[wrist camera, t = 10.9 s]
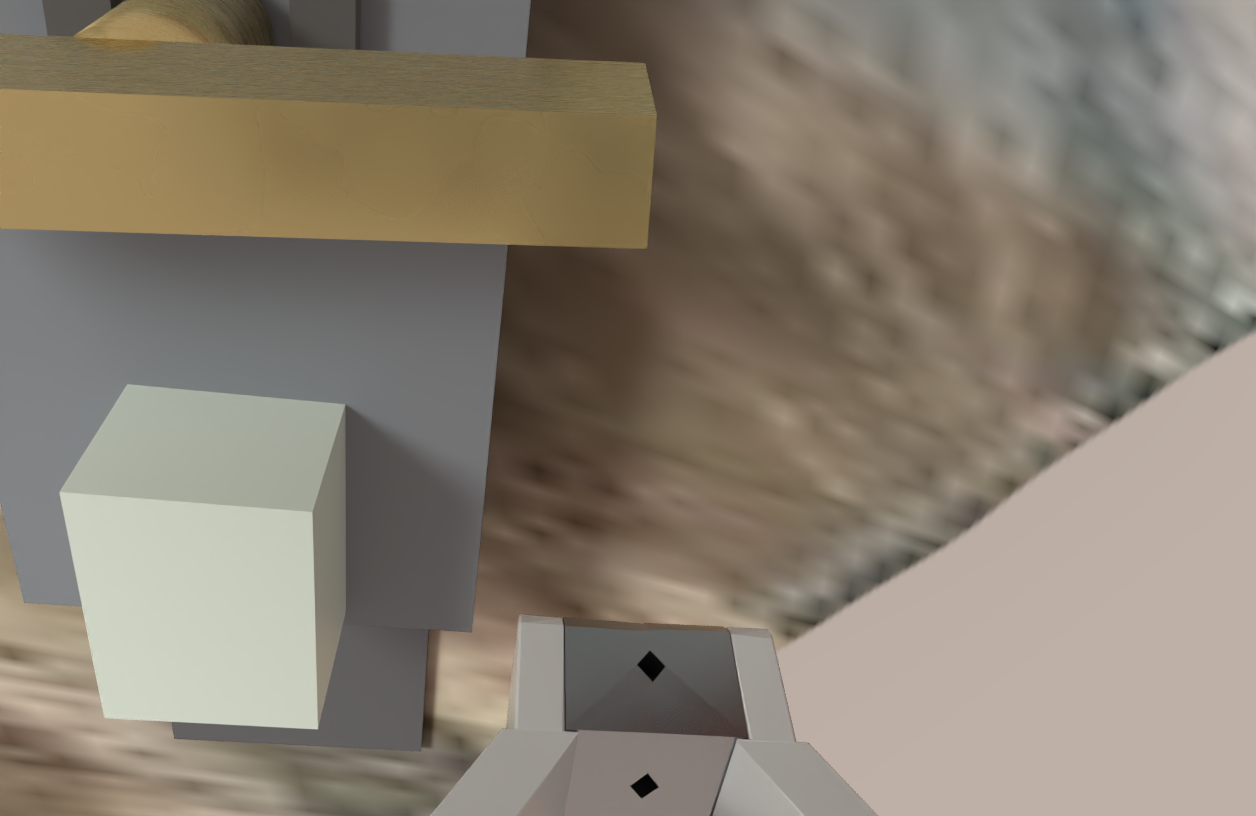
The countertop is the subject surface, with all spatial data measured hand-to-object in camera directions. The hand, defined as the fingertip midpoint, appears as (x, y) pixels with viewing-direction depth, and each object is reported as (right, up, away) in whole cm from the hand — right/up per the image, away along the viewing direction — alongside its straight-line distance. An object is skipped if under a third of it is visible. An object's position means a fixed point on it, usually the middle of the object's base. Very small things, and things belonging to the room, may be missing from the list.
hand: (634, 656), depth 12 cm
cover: (-10, 0, +14) cm, 17 cm away
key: (-8, +10, +7) cm, 15 cm away
